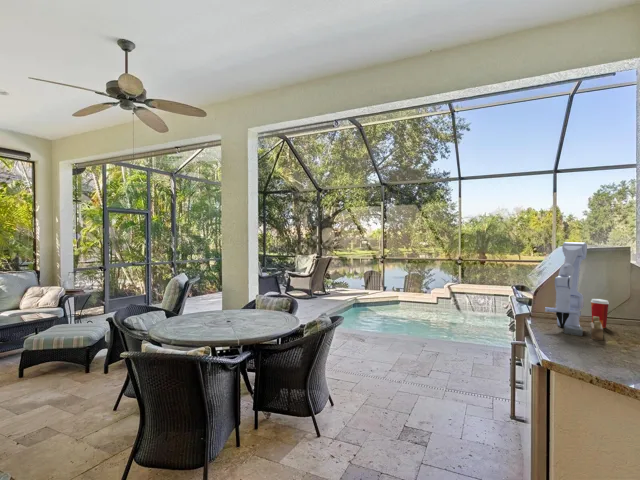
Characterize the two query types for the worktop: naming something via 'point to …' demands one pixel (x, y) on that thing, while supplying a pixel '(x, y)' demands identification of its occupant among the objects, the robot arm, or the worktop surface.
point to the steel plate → (573, 330)
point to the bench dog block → (596, 329)
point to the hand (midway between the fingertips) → (562, 327)
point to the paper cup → (600, 310)
